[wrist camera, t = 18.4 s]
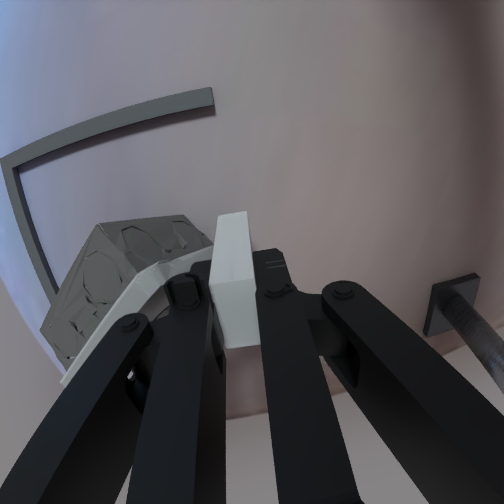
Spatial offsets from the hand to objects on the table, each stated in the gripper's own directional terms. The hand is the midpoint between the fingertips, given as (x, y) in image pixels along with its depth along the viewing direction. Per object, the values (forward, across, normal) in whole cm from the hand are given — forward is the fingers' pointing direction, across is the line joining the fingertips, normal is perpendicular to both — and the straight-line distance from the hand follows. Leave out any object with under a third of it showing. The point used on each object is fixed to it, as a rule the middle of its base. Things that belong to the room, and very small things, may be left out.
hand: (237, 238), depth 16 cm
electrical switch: (+3, -6, -2) cm, 7 cm away
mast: (+3, +17, -10) cm, 20 cm away
